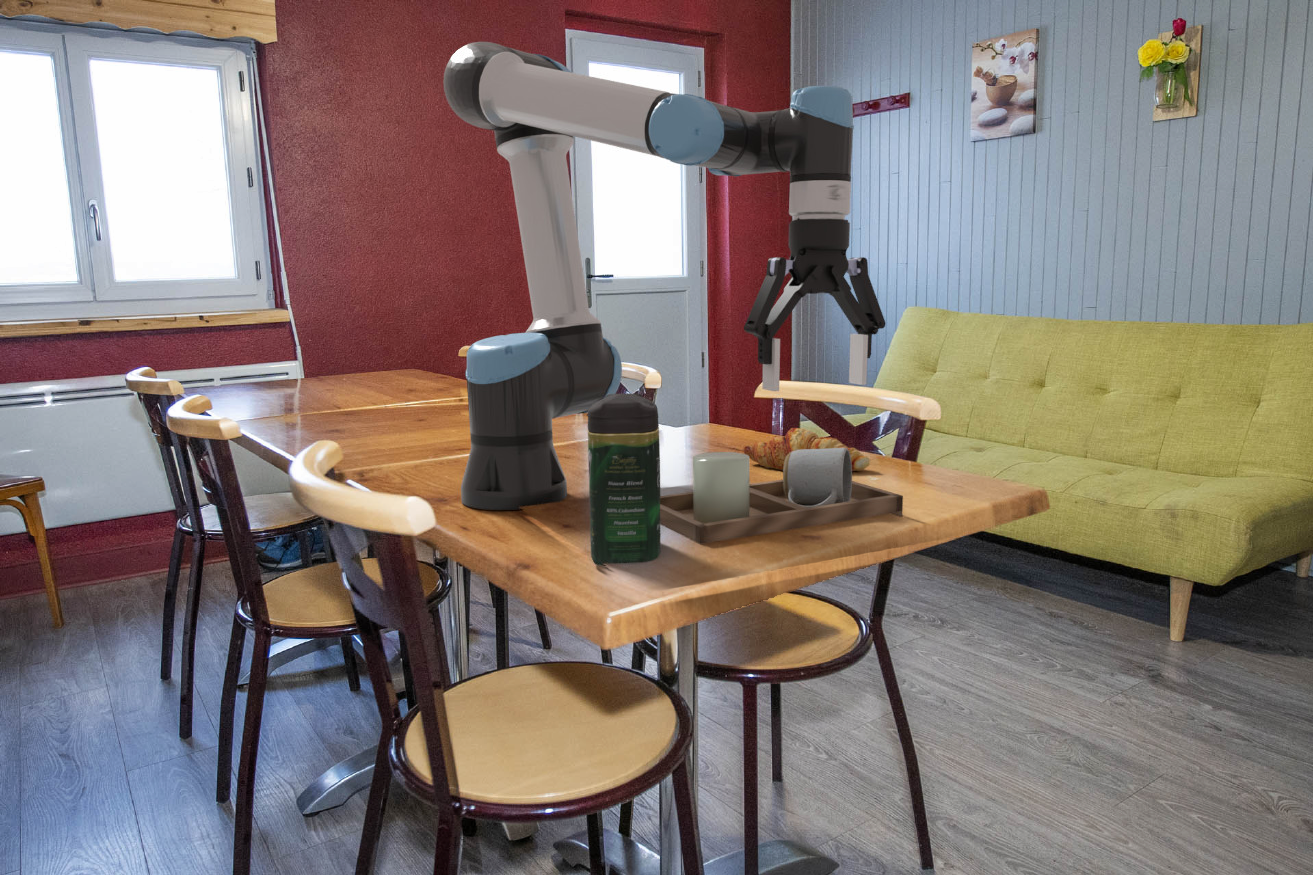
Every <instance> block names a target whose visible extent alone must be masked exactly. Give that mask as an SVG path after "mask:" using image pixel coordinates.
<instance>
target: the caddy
mask: <svg viewBox="0 0 1313 875" xmlns="http://www.w3.org/2000/svg"><path fill="white" fill-rule="evenodd" d="M903 502H904V496H903V495H901V494H898V493H895V492H891V491H888V490H884V489H881V488H878V487H874V486H871V485H868V484H864V483H860V482H857V481H853V480H852V491H851V498H850V501H849V502H843V503H836V504H829V505H823V506H816V507H810V508H806V507H803V506H813V505H803V504H795V503H792V502H789V500H788V499H787V498H786V496H785V493H784V487H783V479H779V480H778V479H777V480H769V481H764V482H754V483H750V517H744V518H737V519H730V520H724V521H717V522H711V523H704V524H703V523H700V522H698V521H696V520H694V508H693V491H688V492H681V493H680V492H679V493H674V494H665V495H660V526H663V527H664V528H667V529H669V530H671V531H673V532H675V533H676V534H678V535H680V536H682V537H684V538H686V539H688V540H690V541H692V542H694V543H697V544H699V545H703V544H709V543H710V544H711V543H716V542H720V541H721V542H723V541H729V540H733V539H735V540H736V539H741V538H747V537H753V536H758V535H759V536H760V535H764V534H765V535H766V534H770V533H771V534H772V533H777V532H783V531H790V530H797V529H802V528H808V527H814V526H820V525H826V524H834V523H838V522H840V523H841V522H845V521H852V520H858V519H863V518H869V517H875V516H883V515H890V514H891V515H894V516H898V517H900V518H903V512H904V511H903V510H904V508H903V504H904V503H903ZM801 505H803V506H801Z"/></svg>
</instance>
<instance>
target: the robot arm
mask: <svg viewBox="0 0 1313 875" xmlns="http://www.w3.org/2000/svg"><path fill="white" fill-rule="evenodd" d="M444 69H445V70H444V73H443V90H444V94H445V98H446V100H447V103H448V105H449V107H450V108H451V110H452V111H453V112H454V113H455V115H456V116H457V117H458V118H460V119H461V120H462V121H464V122H465V123H468V124H470V125H472V126H474V127H477V128H480V129H484V130H490V131H494V139H495V144H496V150H497V154H499V155H500V156H502V157H503V158H504V159H505V160H506V161H508V163H509V169H510V175H511V182H512V183H511V184H512V188H513V189H512V190H513V194H514V202H515V207H516V208H515V209H516V213H517V220H518V226H519V227H518V228H519V233H520V240H521V247H522V253H523V259H524V260H523V261H524V266H525V267H524V268H525V271H526V277H527V278H526V279H527V286H528V291H529V298H530V304H531V312H532V316H533V319H532V322H531V324H530V325H529V326H528V329H526V331H525V332H521V333H520V332H518V333H517V332H516V333H515V332H514V333H508V334H505V335H503V334H500V335H495V336H491V337H486V338H483V339H480V340H477V341H475V342H474V343H472V344H471V345H470V346H469V347H468V350H467V352H466V369H465V378H466V389H467V390H466V392H467V403H468V415H469V416H468V418H469V433H470V452H469V454H468V459H467V462H466V466H465V471H464V474H463V477H462V481H461V485H460V492H461V493H460V495H461V498H460V499H461V503H462V504H463V505H464V506H467V507H470V508H473V509H474V508H475V509H480V510H487V511H488V510H489V511H512V510H513V511H514V510H522V508H523V507H529V506H537V505H544V504H545V505H546V504H552V503H560V502H562V501H563V500H565V499H566V498H567V496H568V487H567V486H568V485H567V483H568V482H567V478H566V476H565V473H564V470H563V468H562V465H561V462H560V460H559V457H558V454H557V452H556V449H555V446H554V438H553V419H558V418H562V417H567V416H572V415H581V414H587V413H588V410H589V408H590V407H591V406H592V405H593V404H594V403H596V402H597V401H599V400H601V399H603V398H605V397H606V396H607V395H609V394H617V391H618V390H619V387H620V384H621V380H622V375H623V374H622V373H623V366H622V359H621V356H620V353H619V351H618V349H617V348H616V346H614V345H613V344H612V342H611V341H610V340H608V339H607V338H605V337H604V334H603V329H602V322H601V321H600V319H598V318H597V317H596V316H594V314H592V313H591V311H590V310H589V303H588V296H587V289H586V283H585V277H584V271H583V270H584V268H583V262H582V261H583V260H582V256H581V255H582V254H581V249H580V243H579V236H578V228H577V220H576V215H575V208H574V202H573V195H572V188H571V182H570V174H569V167H568V161H567V154H568V152H569V151H570V149H571V148H572V147H573V146H574V143H575V142H574V139H575V138H579V139H584V140H588V141H592V142H595V143H601V144H605V145H608V146H613V147H616V148H621V149H625V150H630V151H634V152H638V153H641V154H642V153H643V154H646V155H651V156H655V157H659V158H661V159H665V160H668V161H670V162H672V163H674V164H678V165H683V166H688V167H689V166H691V167H692V166H696V167H704V168H707V169H708V172H709V173H711V174H713V175H715V176H726V177H728V176H729V177H732V176H733V177H734V178H735V177H741V176H743V175H754V174H755V175H756V174H767V173H768V174H769V173H777V172H779V173H780V172H781V173H786V172H789V178H790V179H789V199H788V201H789V202H788V203H789V204H788V206H789V208H788V214H789V216H791V217H793V220H791V221H790V223H788V248H789V251H790V255H789V259H786V258H785V257H784V256H783V257H781V256H779V257H769V258H768V260H767V262H766V263H767V264H766V271H765V272H766V274H765V277H764V279H763V282H762V283H761V284H762V285H761V287H760V289H759V291H758V294H757V295H756V298H755V300H754V302H753V305H752V307H751V310H750V312H749V314H748V317H747V319H746V321H745V323H744V326H743V330H744V332H746V333H749V334H751V335H753V336H754V337H755V338H757V361H758V364H762V383H761V384H762V390H766V391H770V392H780V370H781V369H780V368H781V366H780V362H781V359H780V358H781V338H774V337H775V336H776V334H777V332H779V330H780V328H782V326H783V324H784V323H785V322H786V320H788V318H789V316H790V314H791V313H792V311H793V310H794V309H795V308H796V306H797V304H798V303H799V302H800V300H802V298H804V297H805V296H806V295H807V294H811V295H812V294H813V295H814V294H829V296H832V297H833V299H834V300H835V302H836V303H837V305H838V307H840V309H841V311H842V313H844V315H845V317H846V318H847V320H848V321H849V323H850V325H851V326H852V328H853V329H854V330H855V332H856V333H850V334H849V335H850V336H849V337H850V339H849V342H850V344H849V364H848V365H849V369H848V370H849V372H848V373H849V374H848V384H853V385H854V384H856V385H861V386H864V385H867V380H868V379H867V376H868V370H867V369H868V359H870V358H871V356H872V344H873V343H872V341H873V340H872V338H873V337H872V336H873V335H877V334H878V332H879V329H884V328H886V320H885V317H884V315H883V312H882V310H881V307H880V303H879V301H878V298H877V296H876V292H875V290H874V287H873V284H872V282H871V278H870V276H869V266H868V265H869V264H868V259H867V258H866V257H862V256H861V257H850V258H849V259H848V258H847V250H848V248H849V247H850V230H851V228H850V226H851V225H850V224H851V222H849V220H848V219H845V218H846V216H848V215H850V213H851V192H852V190H851V188H852V160H853V159H852V158H853V157H852V156H853V154H852V153H853V136H854V135H853V134H854V130H855V125H854V110H853V96H852V94H851V92H850V91H849V90H848V89H846V88H844V87H841V86H837V85H836V86H834V85H813V86H806V87H803V88H799V89H796V90H794V91H793V93H792V95H791V100H790V103H789V105H790V106H789V108H785V109H780V110H779V109H778V110H772V111H771V110H769V111H760V112H758V111H757V112H750V111H748V110H744V109H740V108H736V107H733V106H729V105H724V104H721V103H717V102H715V101H711V100H707V99H706V98H704V97H701V96H697V95H693V94H689V93H684V94H682V93H681V94H680V93H673V92H672V93H671V92H668V91H664V90H660V89H654V88H649V87H644V86H640V85H639V86H638V85H634V84H628V83H624V82H619V81H615V80H611V79H610V80H609V79H604V78H600V77H596V76H595V77H594V76H590V75H585V74H580V73H576V72H575V73H574V72H572V71H571V70H570V69H569V68H568V67H566V66H565V65H564V64H562V63H560V62H558V61H557V60H554V59H552V58H551V57H548V56H546V55H542V54H538V53H537V54H536V53H529V52H526V51H522V50H518V49H516V48H512V47H509V46H505V45H502V44H498V43H495V42H491V41H490V42H489V41H477V42H476V41H475V42H471V43H467V44H466V45H464V46H462V47H460V48H459V49H458V50H456V51H455V53H453V54H452V55H451V57H450V59H449V60H448V63H447V64H446V67H445V68H444ZM574 137H575V138H574ZM788 274H790V276H791V279H790V280H789V281H788V283H787V284H786V285H785V286H784V288H783V293H782V294H781V295H780V297H779V298H778V299H777V297H778V295H779V292H780V291H781V288H782V286H783V283H784V282H785V277H786V276H787V275H788ZM846 274H848V275H849V276H848V277H849V281H850V283H851V285H850V284H849V282H848V281H847V280H846V278H845V275H846ZM852 289H853V292H854V294H855V295H854V294H853V292H852ZM855 296H856V297H855ZM776 299H777V301H776ZM775 302H776V303H775Z"/></svg>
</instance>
